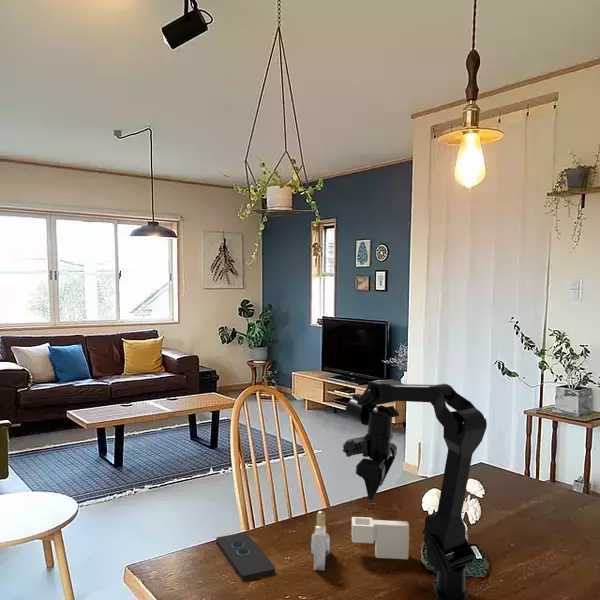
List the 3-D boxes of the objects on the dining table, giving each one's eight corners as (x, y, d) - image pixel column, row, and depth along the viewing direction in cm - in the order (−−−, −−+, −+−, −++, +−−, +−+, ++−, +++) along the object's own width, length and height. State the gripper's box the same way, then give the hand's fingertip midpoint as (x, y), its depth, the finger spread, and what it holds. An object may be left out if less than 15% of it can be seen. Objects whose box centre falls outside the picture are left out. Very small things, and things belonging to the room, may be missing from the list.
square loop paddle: (408, 561, 129) (409, 528, 129) (351, 559, 130) (352, 525, 130) (406, 551, 134) (407, 519, 134) (351, 549, 135) (351, 516, 135)
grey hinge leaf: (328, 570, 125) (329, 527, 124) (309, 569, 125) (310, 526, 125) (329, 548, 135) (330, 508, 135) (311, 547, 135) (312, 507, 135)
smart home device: (245, 531, 141) (276, 567, 123) (245, 537, 141) (276, 575, 123) (214, 537, 137) (241, 575, 119) (214, 543, 138) (241, 583, 120)
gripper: (357, 415, 146) (353, 472, 148) (336, 436, 129) (332, 500, 130) (399, 422, 142) (394, 481, 144) (383, 444, 125) (379, 510, 126)
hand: (375, 492), depth 136 cm, fingers open, 9 cm apart
